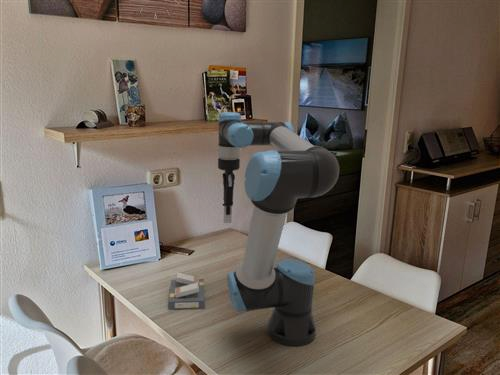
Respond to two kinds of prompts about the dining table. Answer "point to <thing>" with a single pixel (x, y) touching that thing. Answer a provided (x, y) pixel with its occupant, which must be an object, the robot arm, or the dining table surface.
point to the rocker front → (186, 290)
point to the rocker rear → (186, 278)
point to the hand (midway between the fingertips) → (227, 222)
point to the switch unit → (187, 297)
